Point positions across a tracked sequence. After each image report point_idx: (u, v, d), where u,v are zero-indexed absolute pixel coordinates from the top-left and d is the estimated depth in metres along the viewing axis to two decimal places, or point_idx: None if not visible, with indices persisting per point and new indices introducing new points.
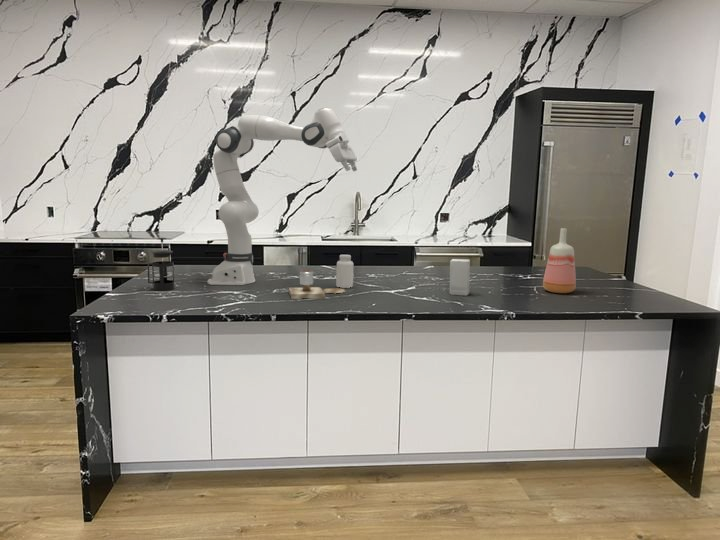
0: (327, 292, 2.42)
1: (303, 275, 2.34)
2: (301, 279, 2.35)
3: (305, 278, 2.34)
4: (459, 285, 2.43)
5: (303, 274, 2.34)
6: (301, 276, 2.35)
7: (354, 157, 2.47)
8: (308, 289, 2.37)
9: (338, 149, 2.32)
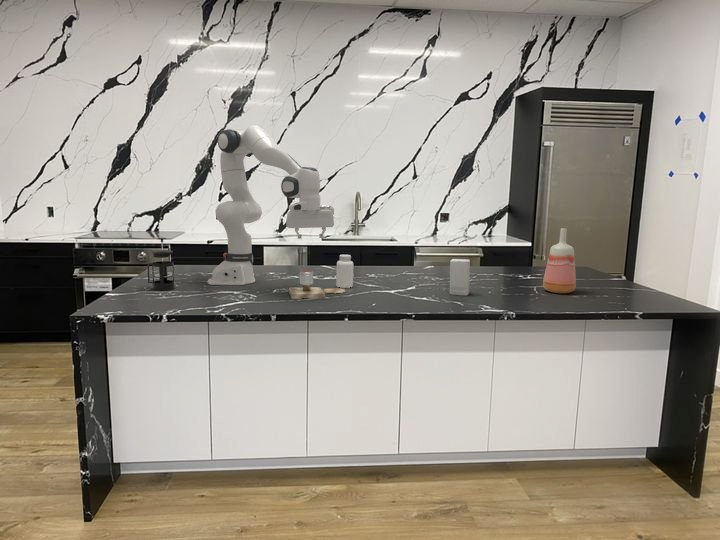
0: (327, 292, 2.42)
1: (303, 275, 2.34)
2: (301, 279, 2.35)
3: (305, 278, 2.34)
4: (459, 285, 2.43)
5: (303, 274, 2.34)
6: (301, 276, 2.35)
7: (326, 224, 2.34)
8: (308, 289, 2.37)
9: (287, 218, 2.29)
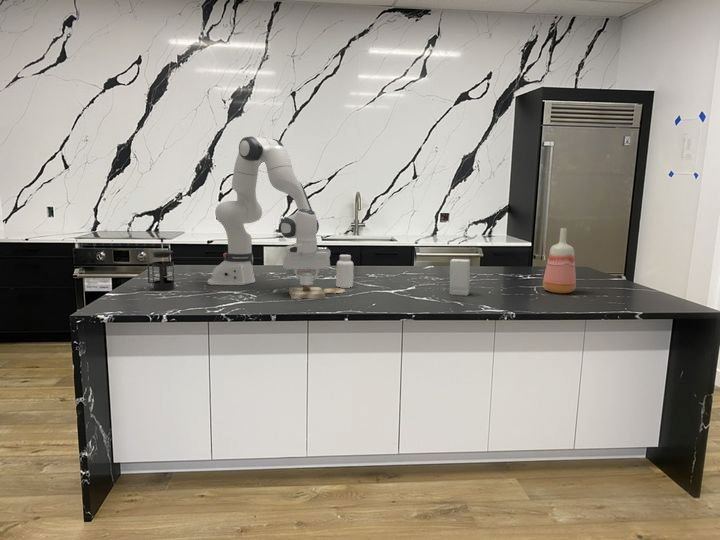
0: (327, 292, 2.42)
1: (303, 275, 2.34)
2: (301, 279, 2.35)
3: (305, 278, 2.34)
4: (459, 285, 2.43)
5: (303, 274, 2.34)
6: (301, 276, 2.35)
7: (322, 266, 2.36)
8: (308, 289, 2.37)
9: (283, 259, 2.32)
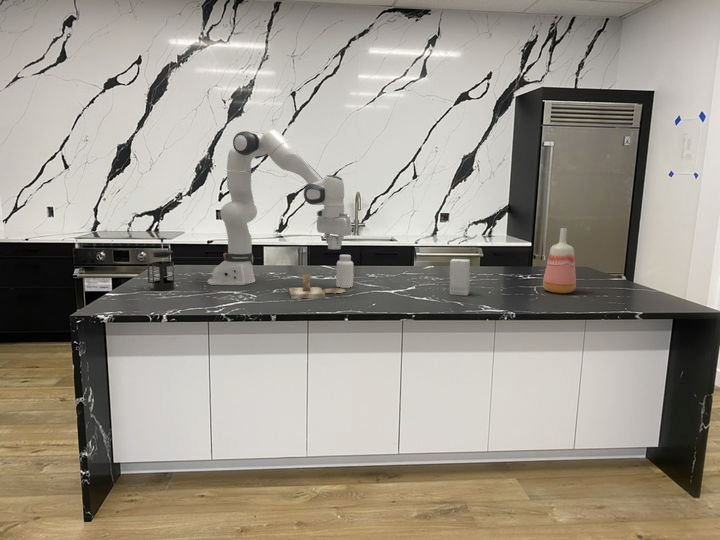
0: (327, 292, 2.42)
1: (328, 239, 2.42)
2: None
3: (328, 242, 2.42)
4: (459, 285, 2.43)
5: (328, 238, 2.42)
6: None
7: (340, 232, 2.36)
8: (308, 289, 2.37)
9: None
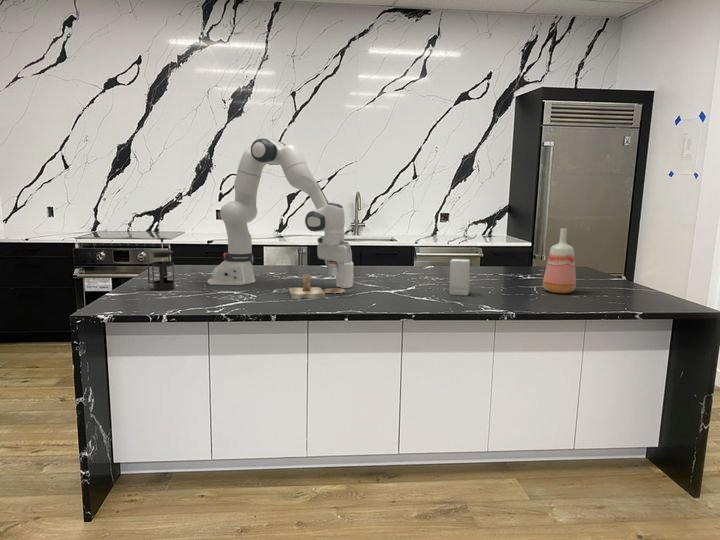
0: (327, 292, 2.42)
1: None
2: None
3: None
4: (459, 285, 2.43)
5: None
6: None
7: (340, 260, 2.38)
8: (308, 289, 2.37)
9: None
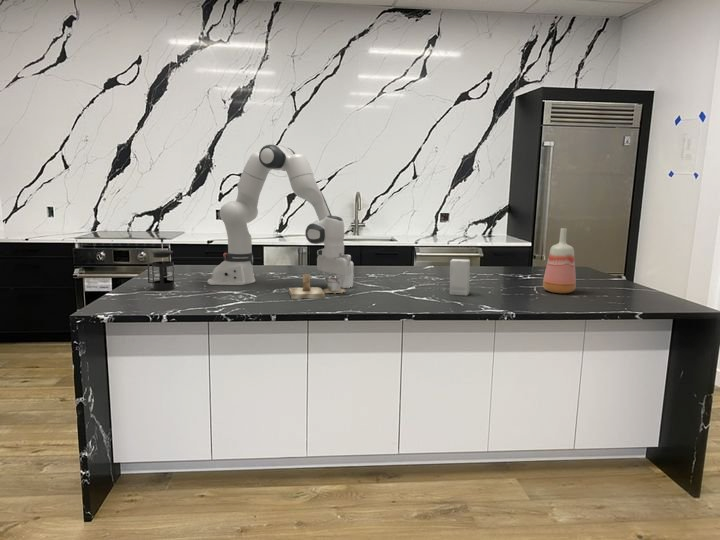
0: (327, 292, 2.42)
1: (328, 281, 2.46)
2: None
3: (328, 284, 2.45)
4: (459, 285, 2.43)
5: (328, 280, 2.46)
6: None
7: (340, 272, 2.39)
8: (308, 289, 2.37)
9: None
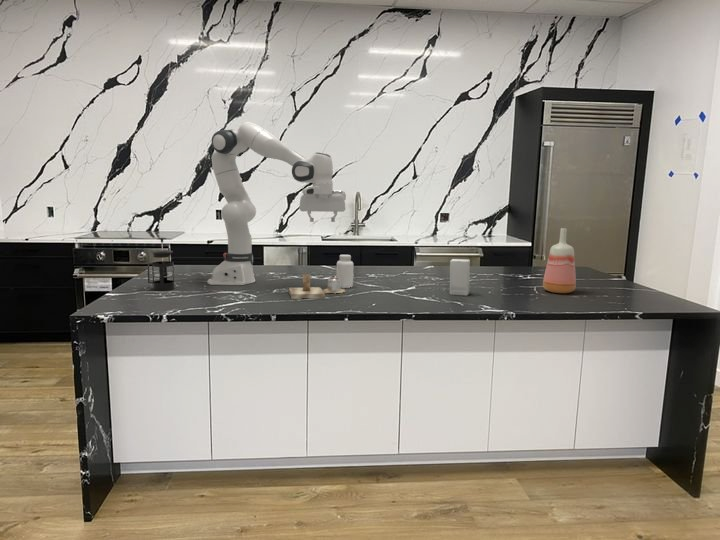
0: (327, 292, 2.42)
1: (328, 281, 2.46)
2: None
3: (328, 284, 2.45)
4: (459, 285, 2.43)
5: (328, 280, 2.46)
6: None
7: (337, 209, 2.42)
8: (308, 289, 2.37)
9: (300, 201, 2.39)
